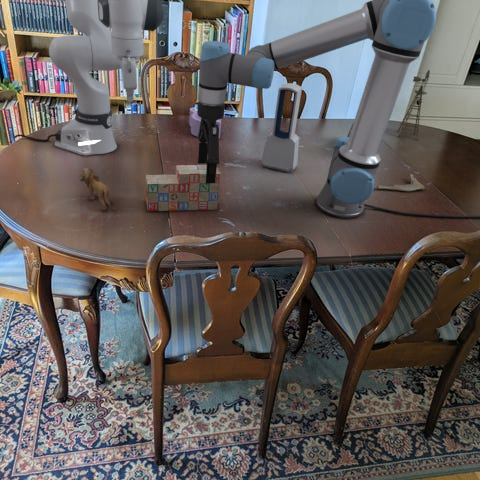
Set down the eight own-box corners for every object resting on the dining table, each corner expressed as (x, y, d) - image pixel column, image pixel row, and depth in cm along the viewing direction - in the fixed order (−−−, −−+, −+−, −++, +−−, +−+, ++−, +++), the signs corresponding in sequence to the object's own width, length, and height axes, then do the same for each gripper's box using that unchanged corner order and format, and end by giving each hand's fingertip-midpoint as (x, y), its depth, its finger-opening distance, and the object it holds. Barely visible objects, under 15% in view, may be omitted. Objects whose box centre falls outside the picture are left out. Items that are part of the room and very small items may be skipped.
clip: (182, 123, 206) (183, 107, 202) (209, 122, 210) (210, 106, 207) (197, 140, 191) (197, 123, 187) (225, 138, 195) (226, 122, 191)
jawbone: (429, 189, 172) (431, 184, 171) (394, 201, 161) (396, 196, 160) (410, 177, 177) (412, 172, 176) (375, 189, 167) (376, 184, 165)
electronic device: (296, 166, 177) (310, 86, 161) (292, 174, 171) (306, 91, 154) (265, 160, 180) (276, 80, 163) (259, 167, 174) (270, 85, 157)
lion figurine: (77, 195, 143) (74, 168, 138) (92, 190, 146) (90, 163, 142) (107, 213, 136) (105, 185, 131) (122, 207, 139) (120, 180, 134)
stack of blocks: (147, 212, 139) (146, 174, 132) (145, 202, 144) (145, 165, 137) (217, 209, 144) (220, 173, 137) (213, 199, 149) (216, 164, 142)
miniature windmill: (417, 139, 216) (437, 73, 200) (398, 137, 217) (417, 70, 201) (414, 133, 223) (434, 68, 207) (397, 130, 224) (415, 66, 208)
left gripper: (141, 56, 124) (142, 107, 132) (137, 40, 141) (138, 87, 148) (116, 55, 123) (119, 107, 130) (115, 39, 139) (117, 86, 146)
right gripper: (234, 118, 119) (227, 191, 131) (216, 89, 139) (210, 155, 151) (206, 117, 117) (200, 192, 129) (191, 88, 137) (187, 155, 149)
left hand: (129, 96), depth 139 cm, fingers open, 8 cm apart
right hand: (206, 172), depth 140 cm, fingers open, 13 cm apart
